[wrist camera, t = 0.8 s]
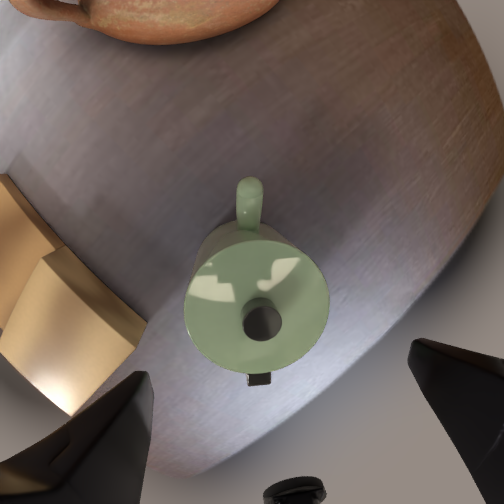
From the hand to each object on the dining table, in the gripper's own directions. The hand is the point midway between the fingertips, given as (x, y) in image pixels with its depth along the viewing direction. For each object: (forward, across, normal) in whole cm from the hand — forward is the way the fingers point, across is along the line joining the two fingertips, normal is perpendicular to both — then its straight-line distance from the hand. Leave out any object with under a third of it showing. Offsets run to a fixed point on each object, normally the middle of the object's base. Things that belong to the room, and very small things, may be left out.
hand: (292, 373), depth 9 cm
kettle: (+11, 0, 0) cm, 11 cm away
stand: (+11, +16, +1) cm, 20 cm away
